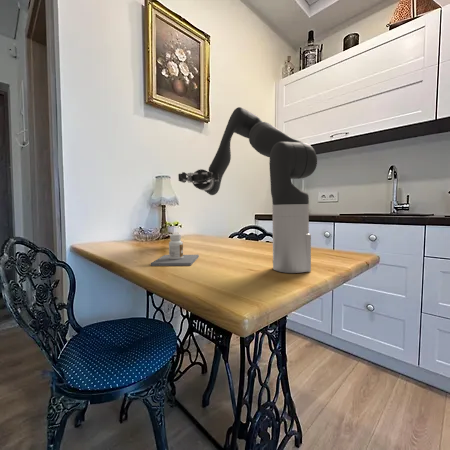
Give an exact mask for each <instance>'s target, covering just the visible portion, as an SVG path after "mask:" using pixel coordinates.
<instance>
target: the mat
mask: <svg viewBox="0 0 450 450" xmlns="http://www.w3.org/2000/svg"><path fill="white" fill-rule="evenodd" d="M199 258H200V255H199V254H183V258H182V259H176V260H173V259H170V258H169V254H164V255H162V256H160V257H159V258H157V259H156V260H154V261H151V262H150V266H151V267H161V266H162V267H169V266H170V267H183V266H184V267H187V266H189V267H191V266H192V265H193V264H194V263H195V261H197V259H199Z"/></svg>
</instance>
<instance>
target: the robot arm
mask: <svg viewBox="0 0 450 450" xmlns="http://www.w3.org/2000/svg"><path fill="white" fill-rule="evenodd" d="M234 134H237V135H239V136H241V137H244V138H246V139H248V142H249V144H250V146H251V148H253V149H254V150H255V151H256V152H257V153H258V154H260V155H263V156H264V157H267V158H269V162H268V163H269V176H270V177H269V178H270V180H269V181H270V194H271V200H272V269H273V271H276V272H280V273H286V274H296V273H297V274H299V273H305V272H307V273H308V272H312V235H311V233H309V228H310V227H309V226H310V225H309V223H310V222H309V220H310V218H309V217H310V216H309V214H310V213H309V211H310V209H309V208H310V207H309V205H310V204H309V203H310V202H309V197H310V196H309V194H308V193H307V192H306V191H304V190H301V189H299V188H297V187H296V186H295V185H294V184H293V183H292V182H293V181H292V179H294V180H295V179H305V178H308V177H309V176H311V175H312V174H313V173H315V171H316V169H317V165H318V156H317V153H316V150H315V148H313V146H311V145H310V144H309V143H306V142H303V141H301V140H298V139H295V138H293V137H291V136H289V134H286V133H285V132H283V131H282V130H281V129H278V128H277V127H276V126H274V125H273V124H271V123H269V122H266V121H263V120H261V119H260V117H259V116H258V115H256V114H254V113H253V112H252V111H248V110H247V109H246V108H242V107H236V108H235V109H234V110H233V111H232V113H231V115H230V117H229V119H228V121H227V125H226V126H225V130H224V132H223V134H222V137H221V140H220V143H219V146H218V148H217V151H216V153H215V155H214V157H213V159H212V161H211V163H210V164H209V167H208V170H206V169H201V168H200V169H197V170H196V171H194V172H188V173H186V172H183V171H182V172H181V173H178V175H177V176H178V181H179V182H181V183H184V184H185V183H186V182H187V183H190V184H192V185H193V187H194V188H197V189H199V190H201V191H203V192H205V193H207V194H208V195H210V196H215V195H217V193H219V190H220V188H221V184H222V183H221V182H222V179H223V177H224V174H225V172H226V170H227V168H228V167H229V165H230V163H231V159H232V152H231V140H232V137H233V135H234Z"/></svg>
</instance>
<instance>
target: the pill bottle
mask: <svg viewBox="0 0 450 450" xmlns="http://www.w3.org/2000/svg"><path fill="white" fill-rule="evenodd" d="M169 237H170V238H169V239H170V241H169V242H168V253H169V254H168V255H169V258H170V259H173V260H176V259H182V258H183V255H184V242H183V241H182V240H181V239H182V234H181V233H173V234H172V233H171V234H170V235H169Z"/></svg>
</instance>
